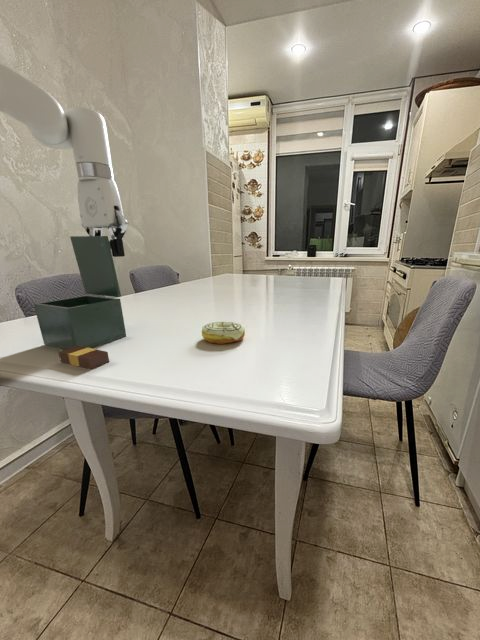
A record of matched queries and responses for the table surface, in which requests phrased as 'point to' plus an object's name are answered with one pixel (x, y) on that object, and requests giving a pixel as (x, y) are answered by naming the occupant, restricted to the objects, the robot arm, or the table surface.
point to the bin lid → (96, 265)
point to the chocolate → (84, 357)
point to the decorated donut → (223, 332)
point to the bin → (80, 321)
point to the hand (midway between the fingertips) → (109, 255)
